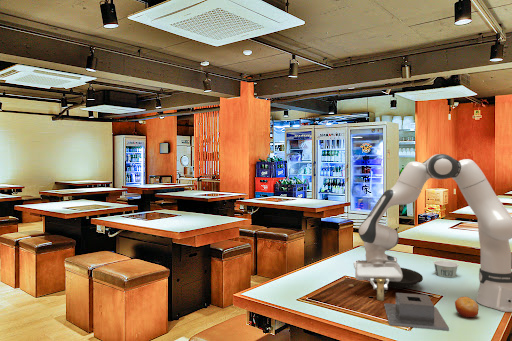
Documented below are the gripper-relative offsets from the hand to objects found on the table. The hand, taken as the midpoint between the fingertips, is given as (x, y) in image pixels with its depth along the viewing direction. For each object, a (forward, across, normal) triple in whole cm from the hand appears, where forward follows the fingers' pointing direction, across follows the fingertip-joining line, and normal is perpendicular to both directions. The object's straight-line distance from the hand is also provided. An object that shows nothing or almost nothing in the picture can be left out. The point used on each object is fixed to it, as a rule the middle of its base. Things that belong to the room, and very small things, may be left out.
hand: (380, 288), depth 164 cm
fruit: (+14, +29, -6) cm, 33 cm away
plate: (-12, +12, +19) cm, 25 cm away
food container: (-26, +42, +33) cm, 60 cm away
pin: (+3, 0, +4) cm, 5 cm away
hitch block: (+16, +9, -9) cm, 20 cm away
